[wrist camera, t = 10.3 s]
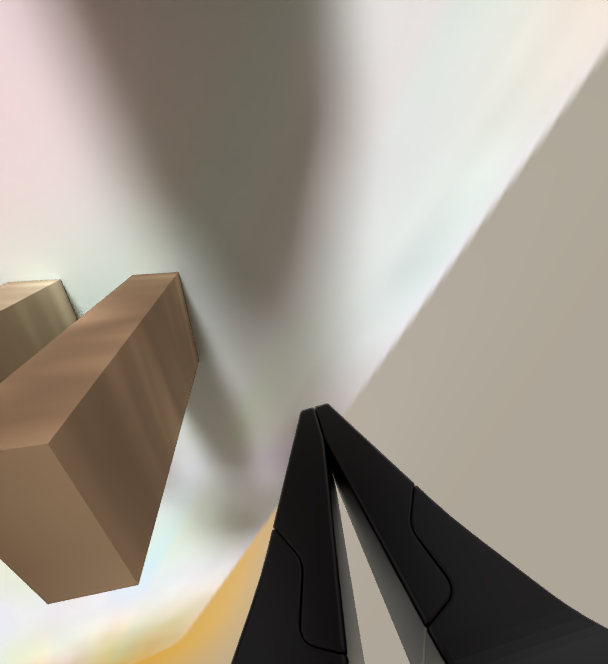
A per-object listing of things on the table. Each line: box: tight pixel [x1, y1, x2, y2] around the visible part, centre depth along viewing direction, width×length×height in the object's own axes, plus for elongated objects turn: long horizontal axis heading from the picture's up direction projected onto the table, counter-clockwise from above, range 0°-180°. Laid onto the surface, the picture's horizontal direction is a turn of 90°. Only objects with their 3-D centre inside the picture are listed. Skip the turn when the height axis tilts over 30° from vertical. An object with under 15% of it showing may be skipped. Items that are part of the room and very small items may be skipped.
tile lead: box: [0, 272, 199, 604], centre depth 10 cm, size 2×5×10 cm, turn 1°
